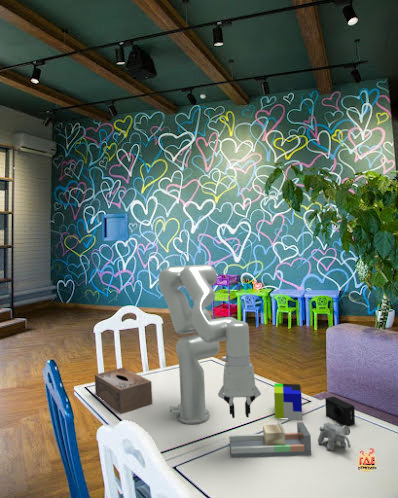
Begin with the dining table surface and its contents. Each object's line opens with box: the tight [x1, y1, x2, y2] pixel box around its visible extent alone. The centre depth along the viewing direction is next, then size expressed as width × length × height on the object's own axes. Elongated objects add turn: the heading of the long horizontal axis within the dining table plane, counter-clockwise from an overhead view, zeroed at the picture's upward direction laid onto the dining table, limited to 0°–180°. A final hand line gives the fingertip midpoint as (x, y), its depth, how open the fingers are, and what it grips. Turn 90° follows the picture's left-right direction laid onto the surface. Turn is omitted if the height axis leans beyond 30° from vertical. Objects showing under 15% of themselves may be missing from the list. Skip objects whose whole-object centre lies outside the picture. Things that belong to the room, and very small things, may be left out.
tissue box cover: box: [94, 367, 153, 415], centre depth 171 cm, size 26×14×10 cm, turn 38°
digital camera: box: [324, 396, 356, 428], centre depth 144 cm, size 10×5×7 cm, turn 24°
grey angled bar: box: [296, 421, 312, 452], centre depth 126 cm, size 2×9×5 cm, turn 0°
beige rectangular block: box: [262, 420, 287, 446], centre depth 126 cm, size 6×9×6 cm
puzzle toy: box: [273, 383, 303, 421], centre depth 151 cm, size 10×10×10 cm
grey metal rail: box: [228, 432, 312, 459], centre depth 126 cm, size 25×9×3 cm, turn 90°
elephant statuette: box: [317, 422, 352, 451], centre depth 125 cm, size 9×12×8 cm
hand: (240, 415), depth 126 cm, fingers open, 3 cm apart
